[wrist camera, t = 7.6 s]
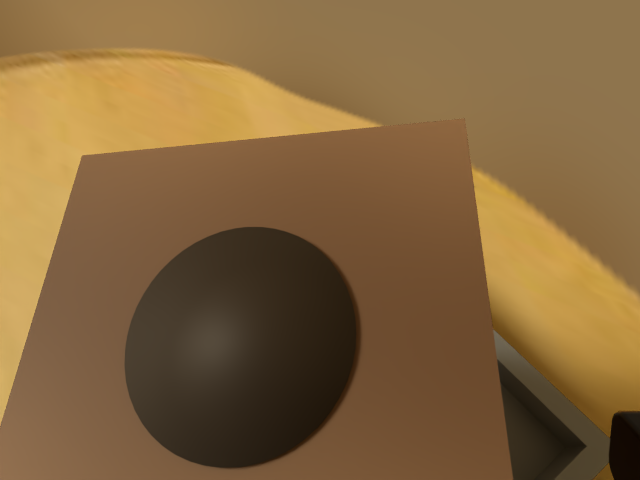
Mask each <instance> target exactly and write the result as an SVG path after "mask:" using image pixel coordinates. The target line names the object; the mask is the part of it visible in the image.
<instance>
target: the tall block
mask: <svg viewBox="0 0 640 480" xmlns="http://www.w3.org/2000/svg"><path fill="white" fill-rule="evenodd" d="M0 480H513V475H512V467H511V460H510V452H509V445H508V437H507V430H506V423H505V415H504V408H503V400H502V393H501V385H500V378H499V370H498V363H497V355H496V348H495V340H494V333H493V326H492V318H491V311H490V303H489V296H488V288H487V281H486V273H485V266H484V258H483V251H482V243H481V236H480V228H479V221H478V214H477V206H476V199H475V191H474V184H473V176H472V169H471V161H470V155H469V146H468V139H467V132H466V124H465V119H455V120H445V121H434V122H423V123H413V124H404V125H393V126H382V127H372V128H362V129H351V130H341V131H331V132H320V133H310V134H300V135H289V136H279V137H269V138H258V139H248V140H238V141H228V142H217V143H207V144H197V145H186V146H176V147H166V148H155V149H145V150H135V151H124V152H114V153H104V154H93V155H83V156H82V158H81V161H80V164H79V168H78V171H77V174H76V178H75V181H74V184H73V188H72V191H71V194H70V197H69V201H68V204H67V207H66V211H65V214H64V217H63V221H62V224H61V227H60V231H59V234H58V237H57V241H56V244H55V247H54V250H53V254H52V257H51V260H50V264H49V267H48V270H47V274H46V277H45V280H44V284H43V287H42V290H41V293H40V297H39V300H38V303H37V307H36V310H35V313H34V317H33V320H32V323H31V327H30V330H29V333H28V337H27V340H26V343H25V346H24V350H23V353H22V356H21V360H20V363H19V366H18V370H17V373H16V376H15V380H14V383H13V386H12V389H11V393H10V396H9V399H8V403H7V406H6V409H5V413H4V416H3V419H2V423H1V426H0Z"/></svg>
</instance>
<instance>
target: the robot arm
mask: <svg viewBox="0 0 640 480" xmlns="http://www.w3.org/2000/svg"><path fill="white" fill-rule="evenodd" d="M609 464H610V469H611V472H612V475H613V478H614V480H640V411H618V412H616V413H615V414H614V416H613V418H612V426H611V436H610V446H609Z"/></svg>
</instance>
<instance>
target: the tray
mask: <svg viewBox="0 0 640 480" xmlns="http://www.w3.org/2000/svg"><path fill="white" fill-rule="evenodd" d="M493 333H494V340H495V348H496V355H497V363H498V370H499V378H500V385H501V393H502V400H503V408H504V415H505V423H506V430H507V437H508V445H509V452H510V460H511V467H512V475H513V480H592V479H593V478H594V477H595V476H596V475H597V474H598V473H599V472H600V471H601V470H602V469H603V468H604V467H605V466H606V465H607V464H608V463H609V446H610V438H609V437H608V436H606V435H605V434H604V433H603V432H602V431H601V430H600V429H599V428H598V427H597V426H596V425H595V424H594V423H593V422H592V421H591V420H589V419H588V418H587V417H586V416H585V415H584V414H583V413H582V412H581V411H580V410H579V409H578V408H577V407H576V406H575V405H573V404H572V403H571V402H570V401H569V400H568V399H567V398H566V397H565V396H564V395H563V394H562V393H561V392H560V391H559V390H558V389H556V388H555V387H554V386H553V385H552V384H551V383H550V382H549V381H548V380H547V379H546V378H545V377H544V376H543V375H542V374H540V373H539V372H538V371H537V370H536V369H535V368H534V367H533V366H532V365H531V364H530V363H529V362H528V361H527V360H526V359H525V358H523V357H522V356H521V355H520V354H519V353H518V352H517V351H516V350H515V349H514V348H513V347H512V346H511V345H510V344H509V343H507V342H506V341H505V340H504V339H503V338H502V337H501V336H500V335H499V334H498V333H497V332H496V331H495V330H494V329H493Z"/></svg>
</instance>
